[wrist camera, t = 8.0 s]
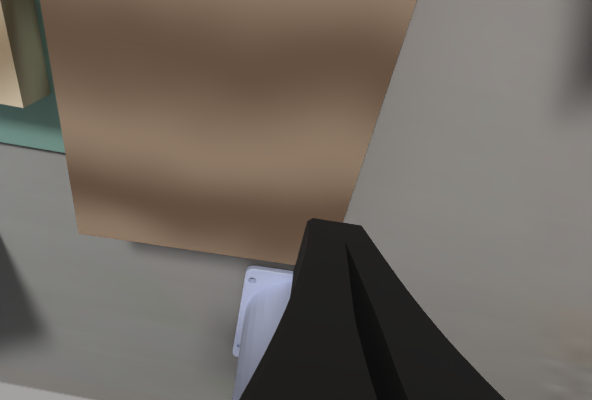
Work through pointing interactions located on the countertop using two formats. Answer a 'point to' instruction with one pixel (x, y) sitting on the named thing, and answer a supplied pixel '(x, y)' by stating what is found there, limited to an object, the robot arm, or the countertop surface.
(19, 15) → the birch tile
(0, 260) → the countertop surface
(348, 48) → the walnut riser
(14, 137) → the green mat
